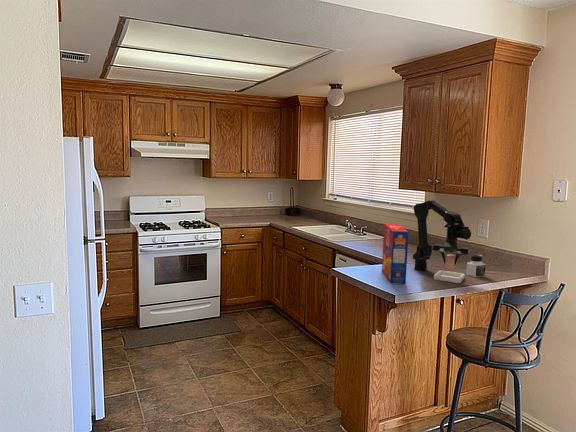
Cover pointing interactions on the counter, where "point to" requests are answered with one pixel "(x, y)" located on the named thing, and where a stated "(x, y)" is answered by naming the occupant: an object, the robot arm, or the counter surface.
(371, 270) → the counter surface
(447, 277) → the tray
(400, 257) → the cereal box
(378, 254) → the counter surface
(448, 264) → the peach rounded cylinder
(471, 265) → the medicine bottle
